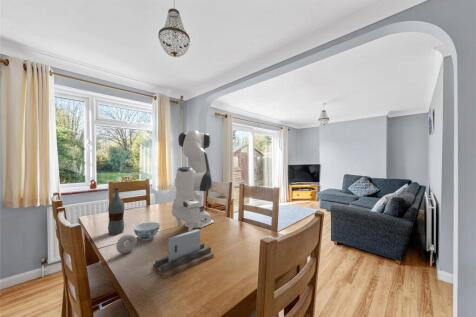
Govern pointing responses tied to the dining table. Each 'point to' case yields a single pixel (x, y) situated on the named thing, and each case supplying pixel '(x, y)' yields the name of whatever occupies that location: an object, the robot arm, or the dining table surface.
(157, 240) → the dining table surface
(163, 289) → the dining table surface
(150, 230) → the chinaware
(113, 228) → the bottle
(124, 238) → the donut
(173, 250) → the door panel
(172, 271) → the track base
